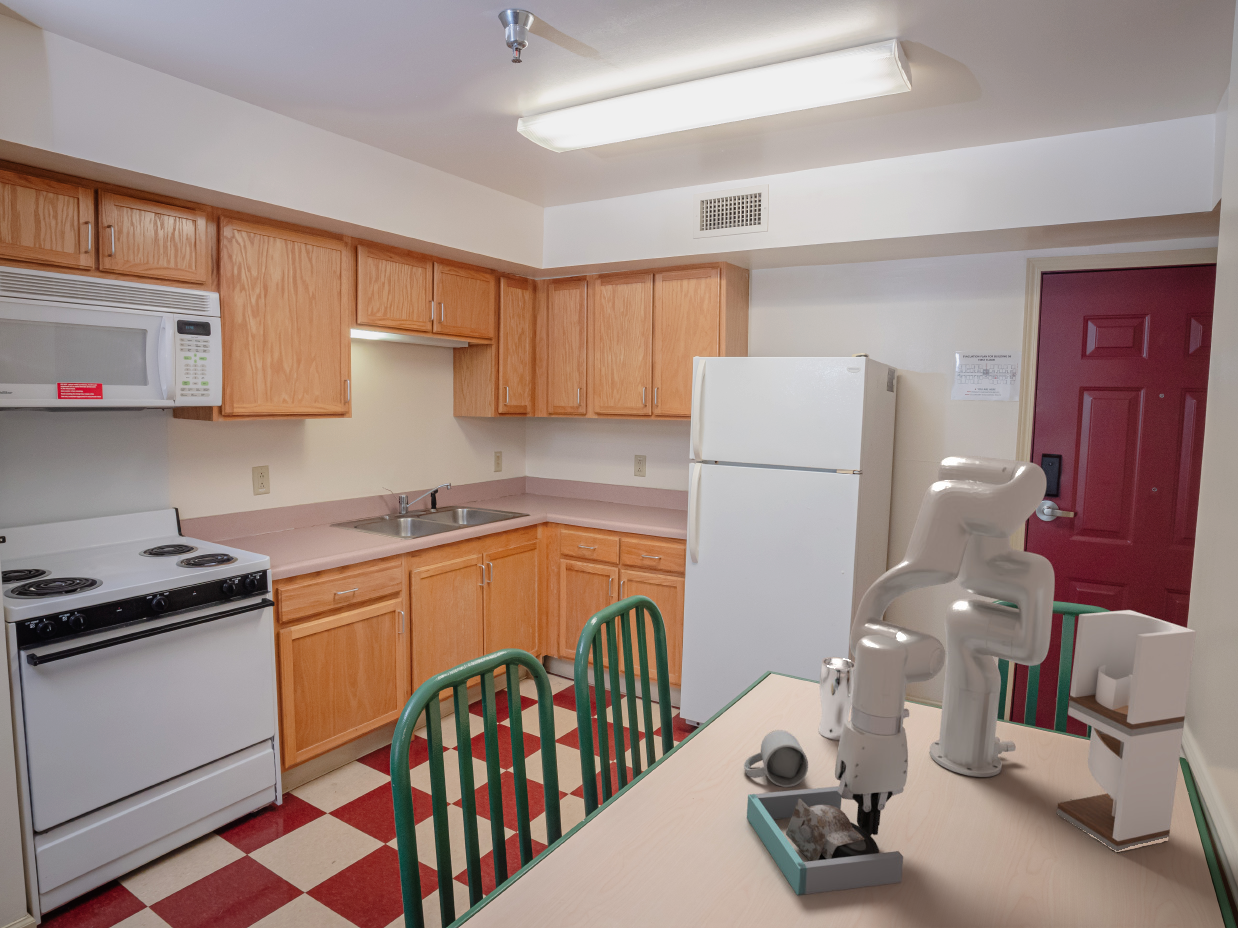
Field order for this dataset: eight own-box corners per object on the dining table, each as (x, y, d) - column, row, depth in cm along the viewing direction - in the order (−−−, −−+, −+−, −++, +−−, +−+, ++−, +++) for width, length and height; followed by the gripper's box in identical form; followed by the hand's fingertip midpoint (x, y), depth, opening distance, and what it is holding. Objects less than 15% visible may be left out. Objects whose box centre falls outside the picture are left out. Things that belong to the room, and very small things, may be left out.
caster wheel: (879, 879, 110) (835, 892, 104) (826, 824, 119) (782, 834, 114) (895, 842, 108) (851, 853, 103) (840, 790, 118) (796, 797, 112)
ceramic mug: (797, 763, 137) (798, 724, 137) (807, 788, 129) (809, 746, 128) (740, 762, 138) (742, 723, 137) (747, 786, 129) (749, 745, 129)
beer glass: (851, 728, 152) (857, 659, 151) (850, 744, 146) (856, 671, 144) (817, 722, 155) (822, 654, 153) (814, 737, 148) (819, 666, 146)
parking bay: (836, 808, 123) (838, 785, 123) (901, 881, 106) (903, 856, 105) (746, 817, 120) (748, 794, 119) (797, 894, 102) (799, 868, 102)
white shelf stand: (1106, 804, 128) (1129, 609, 124) (1168, 841, 118) (1196, 630, 114) (1056, 814, 124) (1079, 614, 120) (1116, 853, 114) (1143, 636, 110)
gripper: (905, 704, 117) (896, 811, 120) (820, 710, 114) (812, 820, 116) (935, 726, 110) (924, 839, 112) (844, 732, 107) (835, 850, 109)
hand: (867, 829), depth 114 cm, fingers closed
